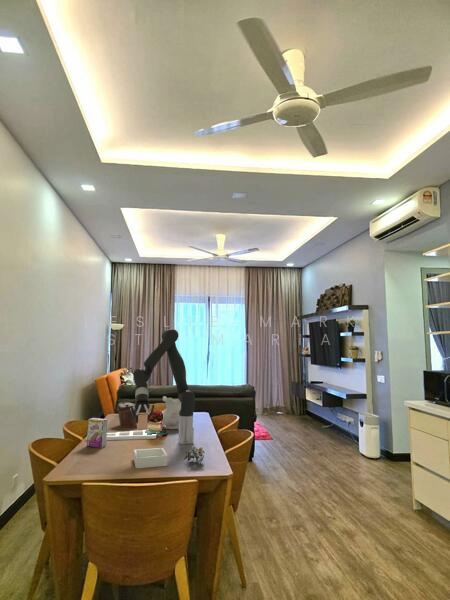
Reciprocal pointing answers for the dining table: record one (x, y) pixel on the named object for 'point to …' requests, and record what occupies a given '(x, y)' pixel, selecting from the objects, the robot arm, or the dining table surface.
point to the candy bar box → (97, 432)
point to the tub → (142, 421)
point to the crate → (150, 458)
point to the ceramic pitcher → (171, 413)
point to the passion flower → (195, 454)
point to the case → (126, 414)
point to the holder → (129, 435)
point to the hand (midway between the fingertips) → (142, 422)
